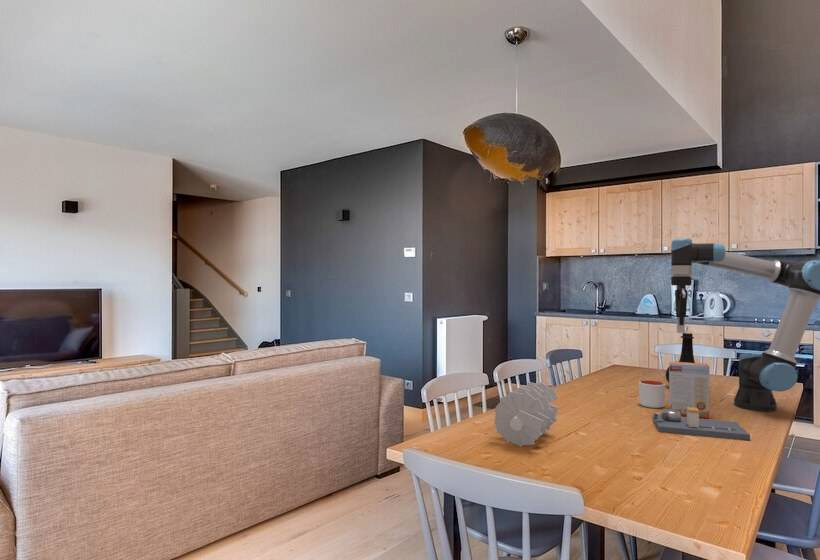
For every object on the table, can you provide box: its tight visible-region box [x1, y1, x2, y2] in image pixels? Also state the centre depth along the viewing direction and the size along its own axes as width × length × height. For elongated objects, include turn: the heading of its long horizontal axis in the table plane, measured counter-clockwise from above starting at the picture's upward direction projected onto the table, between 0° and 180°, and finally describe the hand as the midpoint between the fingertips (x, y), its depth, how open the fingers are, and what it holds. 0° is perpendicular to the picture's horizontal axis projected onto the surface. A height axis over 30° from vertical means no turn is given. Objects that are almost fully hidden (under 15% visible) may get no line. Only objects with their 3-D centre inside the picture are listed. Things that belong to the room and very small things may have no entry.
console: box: [651, 414, 751, 441], centre depth 181 cm, size 28×16×2 cm, turn 72°
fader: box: [686, 407, 700, 428], centre depth 178 cm, size 3×4×6 cm
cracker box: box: [668, 361, 710, 419], centre depth 201 cm, size 14×6×21 cm, turn 65°
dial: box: [653, 408, 682, 422], centre depth 185 cm, size 11×6×3 cm, turn 112°
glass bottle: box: [665, 332, 696, 384], centre depth 248 cm, size 18×18×28 cm
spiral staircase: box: [493, 381, 559, 448], centre depth 170 cm, size 18×18×25 cm
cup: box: [638, 379, 666, 409], centre depth 215 cm, size 10×10×10 cm
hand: (680, 332), depth 207 cm, fingers closed
